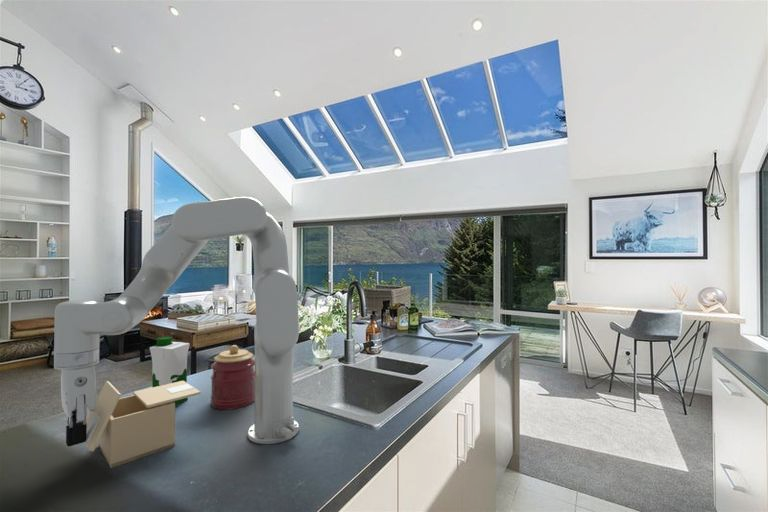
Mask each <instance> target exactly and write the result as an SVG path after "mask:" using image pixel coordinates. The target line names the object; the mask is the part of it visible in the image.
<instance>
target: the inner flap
mask: <svg viewBox="0 0 768 512" xmlns="http://www.w3.org/2000/svg"><path fill="white" fill-rule="evenodd" d="M201 393H202V392H201V390H199V389H197V388H196V387H194V386H193V385H191V384H189V383H188V382H187V383H186V382H185V381H179V382H174V383H170V384H166V385H161V386H157V387H152V386H151V387H149V388H144V389H139V390H135V391H133V393H132V394H133V395H135V396H136V397H137V398H138V399H139V400H140V401H141V402H142V403H143V404H144V405H145V406H146V407H147V408H149V407H153V406H157V405H161V404H164V403H168V402H172V401H176V400H180V399H184V398H188V399H189V398H191V397H195V396H199V395H201Z"/></svg>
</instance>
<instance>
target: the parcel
mask: <svg viewBox="0 0 768 512" xmlns="http://www.w3.org/2000/svg"><path fill="white" fill-rule="evenodd" d="M175 442H176V406H175V403H174V402H173V401H172V402H168V403H164V404H161V405H157V406H153V407H149V408H147V407H146V406H145V405H144V404H143V403H142V402H141V401H140V400H139V399H138V398H137V397H136V396H135V395H134V394H133V395H129V396H125V397H120V398H119V400H118V402H117V405H116V407H115V409H114V411H113V413H112V415H111V417H110V419H109V421H108V423H107V425H106V427H105V429H104V431H103V433H102V435H101V437H100V439H99V441H98V448H99V449H100V451H101V453H102V455H103V456H104V458H105V460H106V462H107V464H108V465H109V467H110V468H111V469H113V468H115V467H119V466H121V465H124V464H128V463H130V462H133V461H136V460H139V459H142V458H145V457H148V456H151V455H153V454H156V453H159V452H162V451H166V450H167V449H171V448H173V447H175V446H176V443H175Z"/></svg>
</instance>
